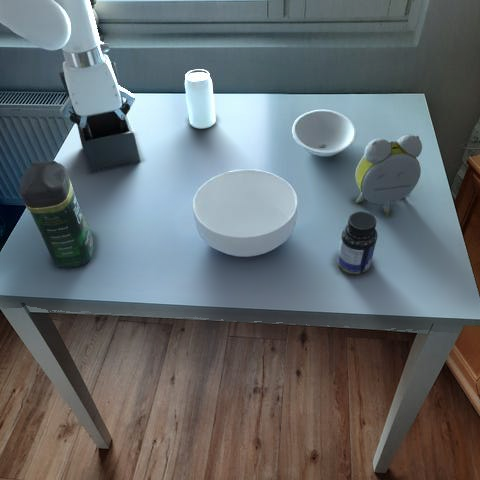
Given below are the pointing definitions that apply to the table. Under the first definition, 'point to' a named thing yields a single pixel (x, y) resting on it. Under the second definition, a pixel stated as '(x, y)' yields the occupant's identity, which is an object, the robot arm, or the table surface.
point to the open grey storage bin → (108, 142)
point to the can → (200, 99)
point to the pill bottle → (357, 243)
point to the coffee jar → (57, 213)
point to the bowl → (245, 212)
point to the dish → (324, 132)
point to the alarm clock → (389, 170)
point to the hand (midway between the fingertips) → (107, 136)
